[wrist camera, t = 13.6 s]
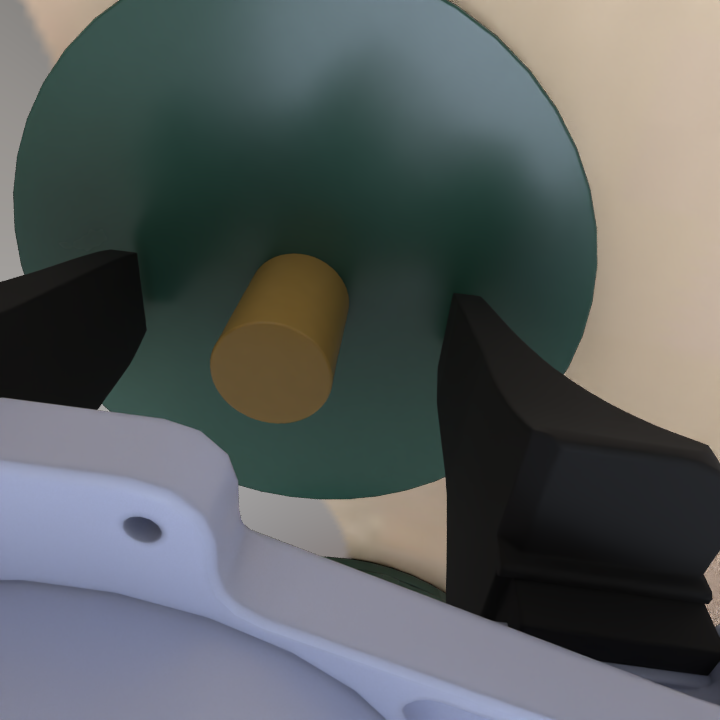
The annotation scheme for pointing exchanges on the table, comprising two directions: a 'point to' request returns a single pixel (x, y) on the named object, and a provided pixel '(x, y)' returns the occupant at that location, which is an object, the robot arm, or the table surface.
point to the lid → (308, 219)
